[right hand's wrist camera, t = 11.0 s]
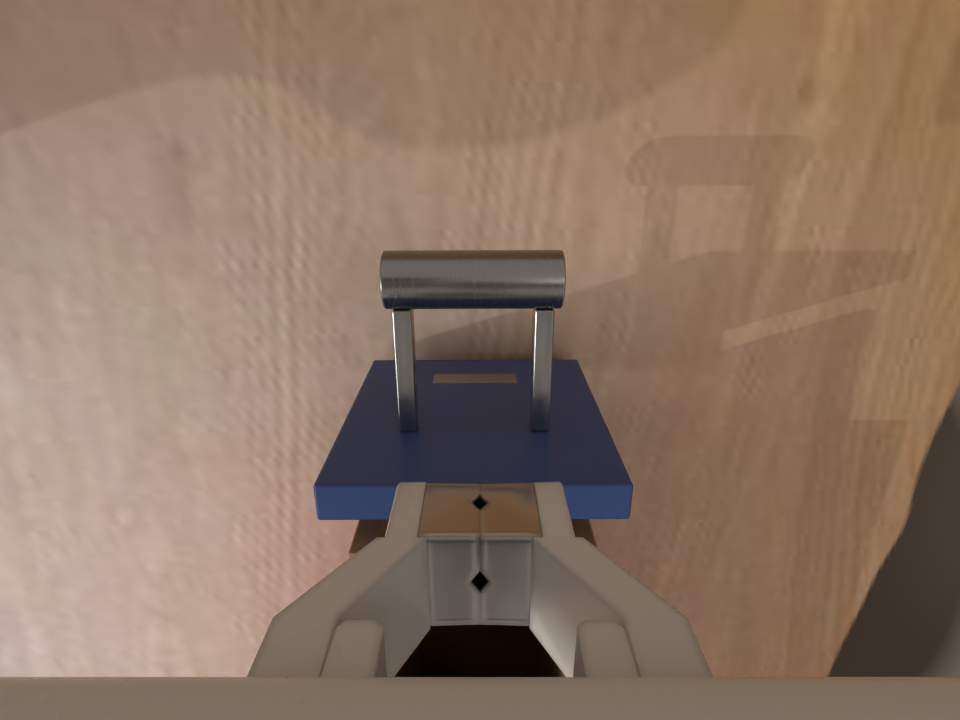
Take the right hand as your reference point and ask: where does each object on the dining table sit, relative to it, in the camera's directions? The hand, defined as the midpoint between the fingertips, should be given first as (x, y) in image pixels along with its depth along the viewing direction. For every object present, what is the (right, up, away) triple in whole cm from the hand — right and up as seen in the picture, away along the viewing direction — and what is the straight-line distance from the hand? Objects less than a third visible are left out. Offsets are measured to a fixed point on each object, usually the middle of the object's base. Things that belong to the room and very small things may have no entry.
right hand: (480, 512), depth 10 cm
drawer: (0, -4, +17) cm, 17 cm away
